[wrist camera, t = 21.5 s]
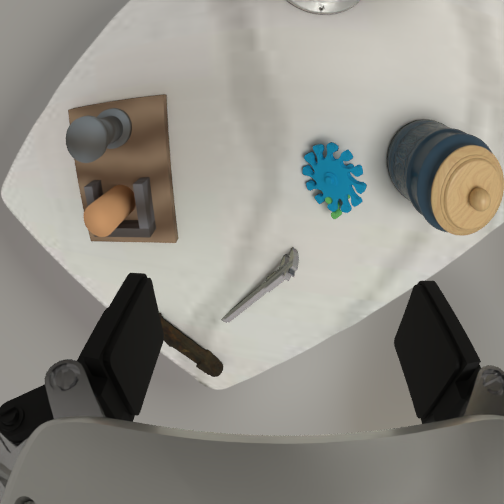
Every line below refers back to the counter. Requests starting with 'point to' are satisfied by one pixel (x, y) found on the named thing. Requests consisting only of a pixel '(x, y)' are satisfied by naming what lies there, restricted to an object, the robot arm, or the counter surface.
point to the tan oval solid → (109, 210)
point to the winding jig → (127, 163)
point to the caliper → (268, 284)
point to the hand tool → (191, 350)
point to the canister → (446, 176)
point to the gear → (334, 179)
